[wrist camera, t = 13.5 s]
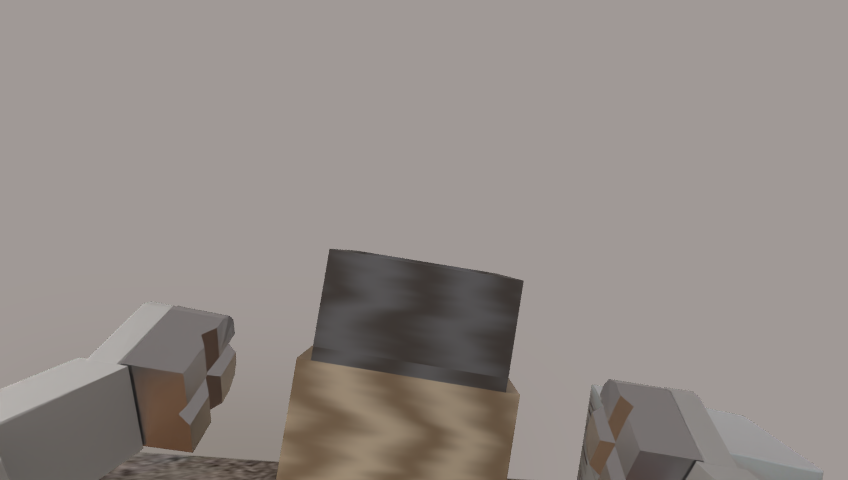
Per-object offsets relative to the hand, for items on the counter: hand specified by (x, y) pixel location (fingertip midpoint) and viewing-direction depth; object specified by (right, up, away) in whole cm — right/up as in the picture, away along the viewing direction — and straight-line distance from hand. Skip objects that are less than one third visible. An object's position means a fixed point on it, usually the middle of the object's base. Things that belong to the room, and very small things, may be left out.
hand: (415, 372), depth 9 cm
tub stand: (-4, -25, +33) cm, 41 cm away
